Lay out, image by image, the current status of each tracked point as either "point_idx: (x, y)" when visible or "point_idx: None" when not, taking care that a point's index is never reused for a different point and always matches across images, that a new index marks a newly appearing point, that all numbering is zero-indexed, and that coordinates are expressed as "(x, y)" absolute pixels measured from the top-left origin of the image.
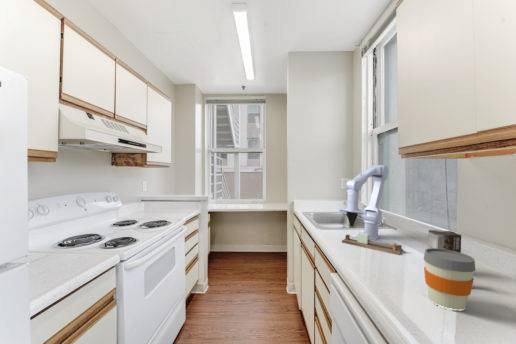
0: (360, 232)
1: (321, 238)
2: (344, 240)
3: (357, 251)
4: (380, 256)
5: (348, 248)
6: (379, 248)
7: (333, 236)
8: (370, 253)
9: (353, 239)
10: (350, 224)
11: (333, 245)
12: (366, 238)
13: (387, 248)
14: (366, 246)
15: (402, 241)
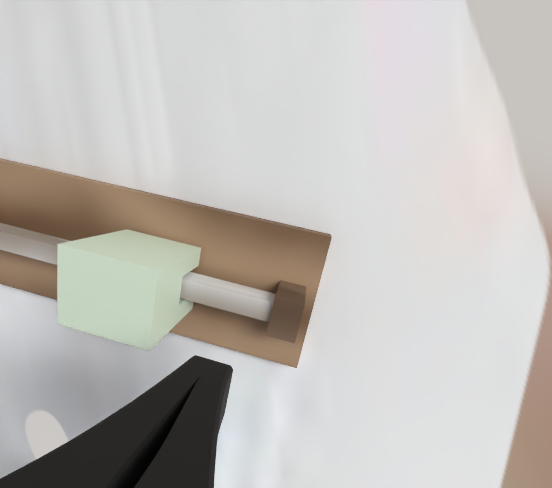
0: (145, 347)
1: (536, 262)
2: (310, 252)
3: (177, 32)
4: (21, 18)
5: (255, 74)
6: (41, 175)
7: (420, 383)
8: (88, 48)
9: (234, 283)
10: (209, 380)
11: (395, 80)
12: (95, 239)
13: (3, 211)
14: (131, 190)
15: (2, 456)
